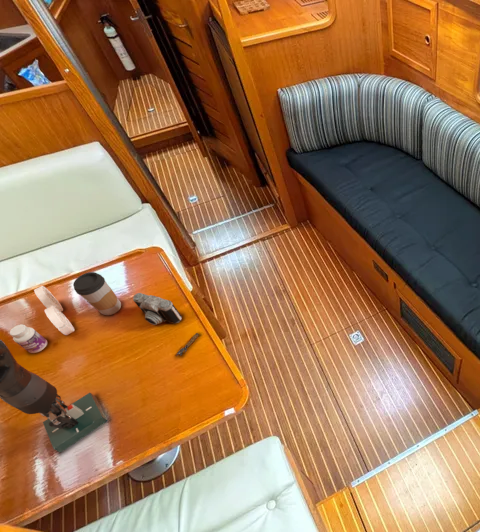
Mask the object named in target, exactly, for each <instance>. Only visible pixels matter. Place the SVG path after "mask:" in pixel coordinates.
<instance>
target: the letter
mask: <svg viewBox="0 0 480 532" xmlns="http://www.w3.org/2000/svg"><path fill="white" fill-rule="evenodd" d="M33 291H34V294H35V296H36V297H37V298H38V300H39V301H40V303H42V305H43V306H44V307H45V309H44V310H43V311H44V313H45V315H46V317H47V318H48V319H49V322H51V324H52V325H53V326H54V327H55V328H56V329H58V331H59V332H60V333H61V334H63V335H64V336H68V335H70V334H71V333H74V332H75V327H74V326H73V325H72V322H71V321H70V320H69V319H68V317H66V315H65V313H63V311H64V308H63V306H62V305H61V303H60V301H59V300H58V299H57V297H55V295H53V293H52V292H51V291H50V290H49V289H48V288H47V287H46V286H44V285H41V286H39V287H37V288H34V289H33Z"/></svg>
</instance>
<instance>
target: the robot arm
mask: <svg viewBox="0 0 480 532" xmlns="http://www.w3.org/2000/svg"><path fill="white" fill-rule="evenodd" d="M0 399H1V400H2V401H3V402H4V403H6V404H8V405H10V406H11V407H13V408H14V409H17V410H19V411H21V412H22V413H23V414H27V415H35V414H39V415H40V416H42V417H46V418H47V419H49V420H51V422H50V423H49V425H50V426H51V427H55V428H59V429H63V428H64V427H68V428H73V427H74V426H76V425H77V424H78V423H79V422H78V421H77V420H76V419H74V418H73V417H71V416H70V415H68V414H67V411H66V409H65V408H67V407H68V406H69V405H67V404H65V401H63V400H62V396H61V395H59V394H58V389H57V387H56V386H55V385H52V384H51V383H50V382H49V381H46V379H44V378H43V377H41V376H40V375H38V374H36V373H35V372H32V371H30V370H28V369H27V368H25V367H24V366H22V365H21V364H20V363H18V361H17V360H16V359H15V357H14V356H13V354H12V352H11V350H10V348H9V347H8V346H7V344H6V343H5V342H4V341H3V340H2V339H0ZM62 416H65V417H62Z"/></svg>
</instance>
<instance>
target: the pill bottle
mask: <svg viewBox="0 0 480 532" xmlns="http://www.w3.org/2000/svg"><path fill="white" fill-rule="evenodd" d="M9 335H10V336H11V337H12V339H13V341H14V342H15V343H16V344H18V345H19V346H20V347H21V348H23V349H24V350H26V352H28V353H31V354H35V353H36V354H37V353H39V352H42V350H44V349H45V348H46V347H47V346H48V340H47V339H46V338H45V337H44V336H43V335H42V334H40V333H39V332H38V331H37V330H36V329H35V328H33V327H29V326H26V325H25V324H23V323H21V324H17V325H15V326H13V327H11V329H10V330H9Z"/></svg>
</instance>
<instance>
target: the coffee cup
mask: <svg viewBox="0 0 480 532" xmlns="http://www.w3.org/2000/svg"><path fill="white" fill-rule="evenodd" d="M72 287H73V290H74V292H76V294H77V295H79V296H81V297H82V298H83V299H84V300H85V301H86V302H87V303H88V304H89V305H91V306H92V307H93V308H94V309H95V310H97V311H98V312H99V313H100V314H102V315H104V316H112V315H114V314H117V312H119V311H120V310H121V306H122V302H121V301H120V299H119V298H118V296H117V294H115V292H114V291H113V289H112V287H110V285H109V284H108V283H107V281H106V279H105V278H104V276H102V274H100V273H97V272H94V271H90V272H85V273H82V274H81V275H80V276H78V277H77V278H76V279H75V280H74V281H73V286H72Z"/></svg>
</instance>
